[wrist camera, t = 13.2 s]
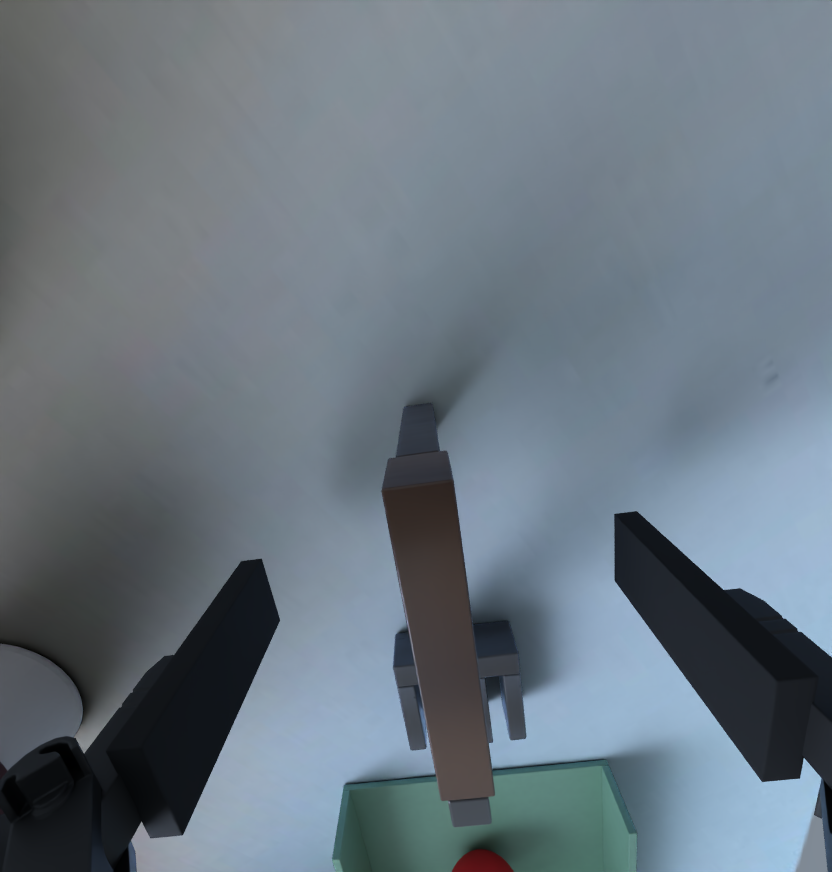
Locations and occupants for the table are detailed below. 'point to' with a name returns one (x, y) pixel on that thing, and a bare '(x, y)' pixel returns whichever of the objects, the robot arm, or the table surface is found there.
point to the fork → (444, 627)
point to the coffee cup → (33, 704)
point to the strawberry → (482, 862)
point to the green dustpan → (507, 834)
